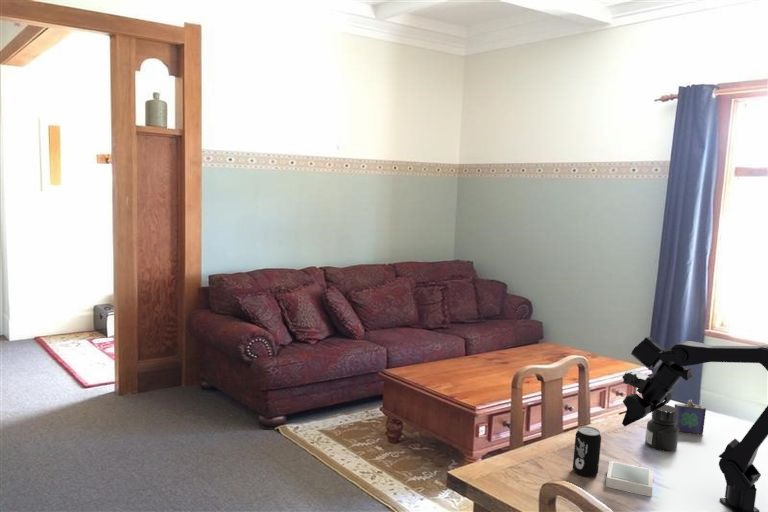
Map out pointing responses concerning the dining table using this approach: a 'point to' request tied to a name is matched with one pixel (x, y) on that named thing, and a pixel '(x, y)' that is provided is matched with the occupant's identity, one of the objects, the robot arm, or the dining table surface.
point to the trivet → (630, 478)
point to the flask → (690, 418)
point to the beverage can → (587, 451)
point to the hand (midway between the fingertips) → (630, 420)
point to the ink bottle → (663, 429)
